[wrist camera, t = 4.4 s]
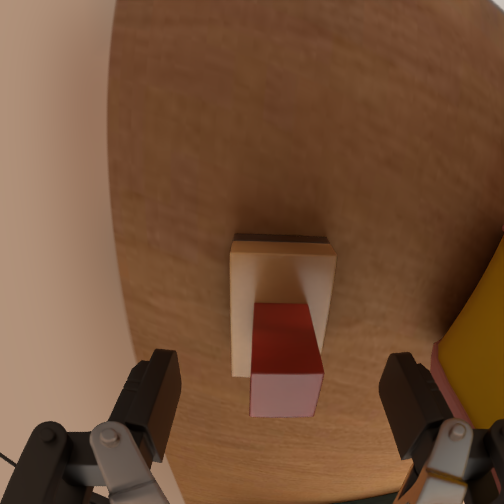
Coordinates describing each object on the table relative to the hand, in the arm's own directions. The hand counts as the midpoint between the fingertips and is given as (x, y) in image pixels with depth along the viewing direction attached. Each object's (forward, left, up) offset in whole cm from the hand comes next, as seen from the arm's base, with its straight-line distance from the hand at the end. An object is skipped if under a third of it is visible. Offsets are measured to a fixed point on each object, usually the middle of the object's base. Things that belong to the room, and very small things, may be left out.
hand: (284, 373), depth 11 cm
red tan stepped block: (0, 0, -6) cm, 6 cm away
